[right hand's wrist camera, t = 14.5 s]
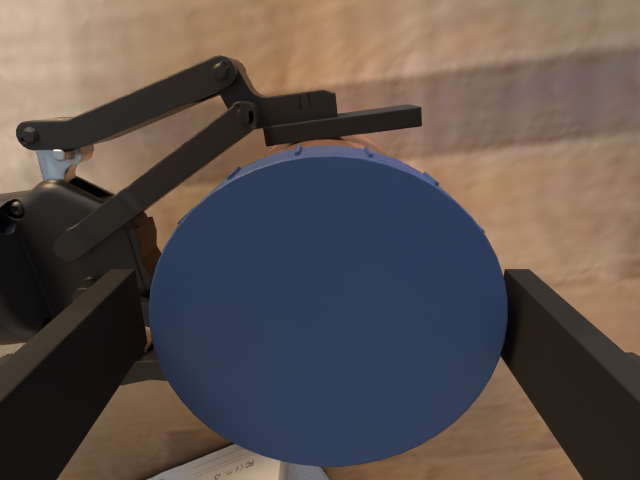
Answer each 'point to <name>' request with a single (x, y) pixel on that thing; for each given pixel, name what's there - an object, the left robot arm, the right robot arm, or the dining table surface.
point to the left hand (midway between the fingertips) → (419, 220)
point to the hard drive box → (240, 468)
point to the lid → (328, 307)
